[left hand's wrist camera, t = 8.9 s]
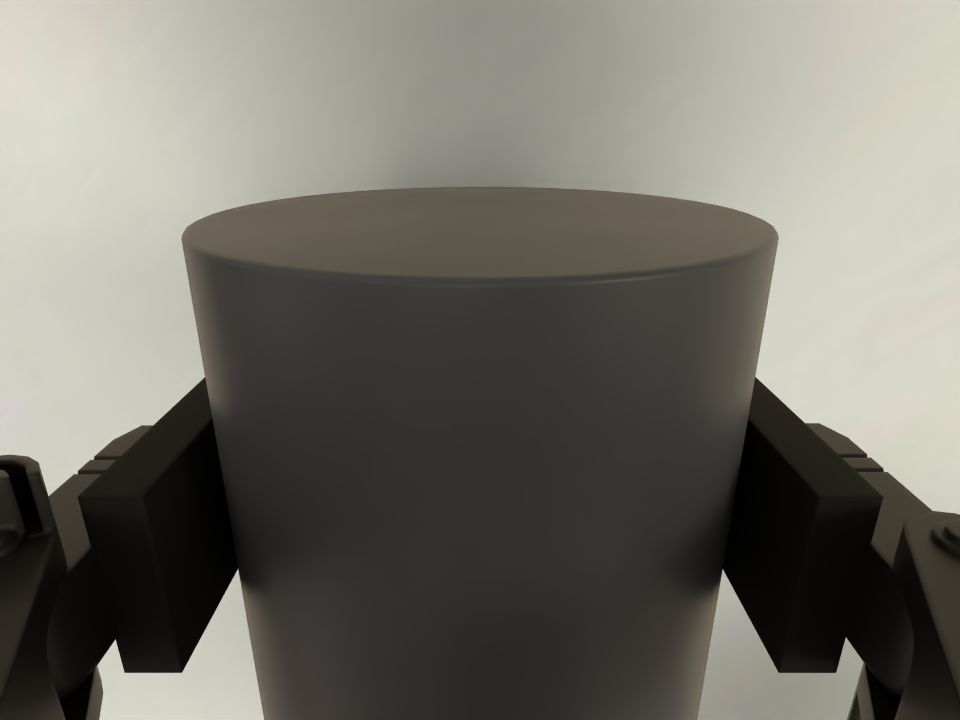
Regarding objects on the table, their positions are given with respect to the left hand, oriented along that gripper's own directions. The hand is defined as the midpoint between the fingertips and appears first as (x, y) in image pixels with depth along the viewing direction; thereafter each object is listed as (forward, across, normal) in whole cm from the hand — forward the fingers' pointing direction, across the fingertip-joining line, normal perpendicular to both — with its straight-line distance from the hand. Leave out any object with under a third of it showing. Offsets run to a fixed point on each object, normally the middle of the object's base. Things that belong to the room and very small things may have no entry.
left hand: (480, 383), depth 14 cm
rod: (+1, 0, -7) cm, 7 cm away
